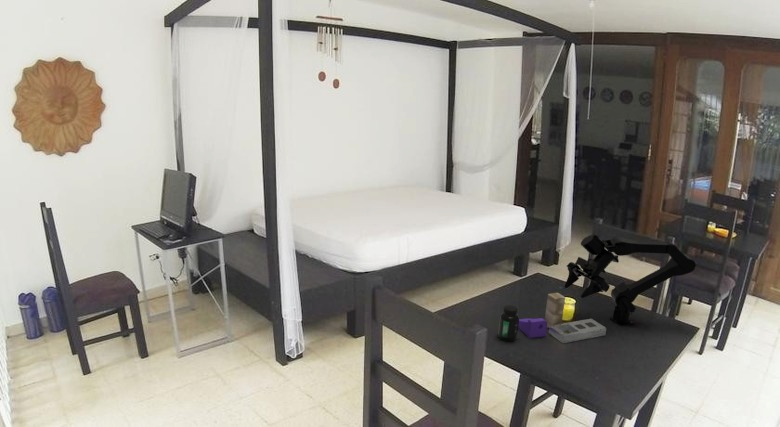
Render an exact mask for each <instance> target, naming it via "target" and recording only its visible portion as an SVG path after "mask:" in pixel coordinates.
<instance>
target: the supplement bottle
mask: <svg viewBox="0 0 780 427" xmlns="http://www.w3.org/2000/svg"><path fill="white" fill-rule="evenodd" d="M519 319H520V317H519V314H518V307H517V306H515V305H511V304H508V305H507V304H506V305H504V306H503V312H502V313H501V314H500V317H499V325H498V338H499V339H500V340H502V341H504V342H514V341H516V340H518V332H519V328H518V325H519Z"/></svg>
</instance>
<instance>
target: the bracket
mask: <svg viewBox="0 0 780 427" xmlns="http://www.w3.org/2000/svg"><path fill="white" fill-rule="evenodd" d="M518 330H520V331H522V332H523V333H524V334H525V335H526V336H527V337H528V338H529V339H533V338H541V337H542V338H543V337H547V330H548V327H547V322H546V321H545V318H542V317H540V318H521V319H520V318H519V325H518Z"/></svg>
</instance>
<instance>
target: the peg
mask: <svg viewBox="0 0 780 427" xmlns="http://www.w3.org/2000/svg"><path fill="white" fill-rule="evenodd" d="M565 301H566V297H565V296H564V295H562V294H561V293H559V292H553V293H548V294H547V300H546V306H545V315H544V320H545V321H546V322H547V329H548V328H549V326H552V325H558V324H563V317H564V310H565V304H566V303H565Z"/></svg>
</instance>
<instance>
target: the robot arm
mask: <svg viewBox="0 0 780 427" xmlns="http://www.w3.org/2000/svg"><path fill="white" fill-rule="evenodd" d="M580 245H581V247H582V248H584V250H586V251H587V253H589V254H590V255H591V256H594V257H593V258H589V259H587V260H586V259H584V258H582V257H580V256H578V258H576V261H575V262H573V261H571V262H569V263H568V264H567V265H566V268H567V270H568V276H567V279H566V281H565V284H564V286H563V287H564V288H565V289H567V288H569V287H570V286H572V285H573V284H574V283H575V282H577V281H578V280H579V279H580V277H584V278H586V279H588V280H589V281H590V282H589V285H588V286H587V287H586V288H585V290H584V291H583V292H582V294H581V295H580V298H581V299H583V298H587V297H590V296H591V295H594V294H598V293H603V292H605V293H607V292H608V291H610V290H609V289H610V287H611V286H610V284H609V283H608V281H607V280H606V279H605V278H604V277H602V276H600V275H601V274H605V273H606V270H605V269H606V268H608V266H609V265H610V264H611V263H612V262H613V263H617V264H618V263H619V260H620V259H619V257H620V256H621V257H622V256H623V257H624V256H630V255H632V254H637V253H638V254H642V253H643V254H666V255H669V257H670V259H668V261H667V263H666V264H665V265H664V266H662V267H660V268H659V269H657V270H654V271H652V272H651V273H648V274H647V275H645V276H644V277H642V278H639V279H638V280H636V281H634V282H632V283H629V284H627V283H625V281H623V282H621V283H619V284H618V285H614V286H613V287H614V288H612V289H611V292H610V297H611V298H612V300H613V301H614V302H615V304H616V305H615V306H614V310H613V315H612V316H609V320H611V321H613V322H615V323H616V324H618V325H620V326H627V325H633V324H634V323H635V322H634V321H632V315H633V313H635V310H636V306H635V305H634V304H633V303H634V301H635V300H636V299H637V297H638V296H639V295H640V294H643V293H644V292H646V291H648V290H650V289H652V288H654V287H656V286H658V285H659V284H661V283H664V282H666V281H667V280H669V279H671V278H673V277H679V276H680V277H681V276H685V275H687V274H691V273H693V272H694V271H695V270H696V265H697V264H696V262H695V261H694V260H693V259H692V258H691V257H689V256H688V255H687V254H685V253H682V251H681V250H680V249H679V248H678V247H677V245H676V244H674V243H673V242H671V241H668V240H667V241H646V240H645V241H643V240H641V241H640V240H631V239H629V238H625V237H620V236H619V237H618V236H614V237H613V238H611V239H604V240H603V239H602V240H601V239H600V238H599V236H598V235H597V234H596V233H593V234H590V235H588V236H585V237H584V238H582V240H581V242H580Z"/></svg>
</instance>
